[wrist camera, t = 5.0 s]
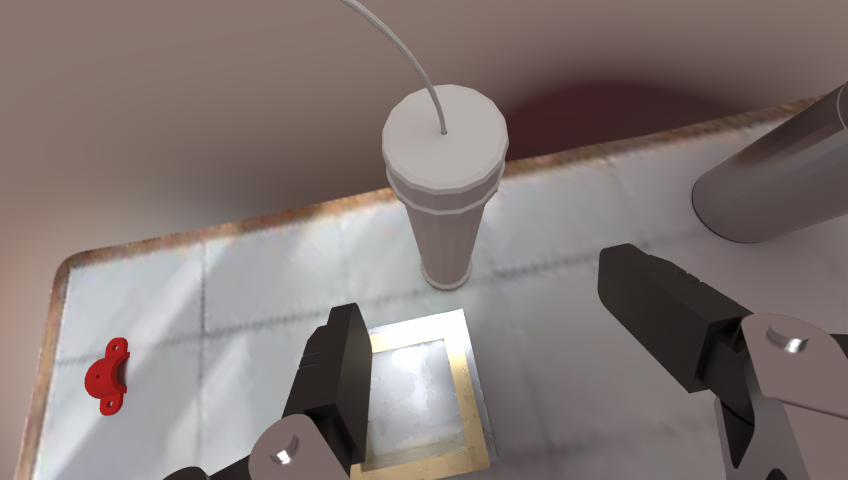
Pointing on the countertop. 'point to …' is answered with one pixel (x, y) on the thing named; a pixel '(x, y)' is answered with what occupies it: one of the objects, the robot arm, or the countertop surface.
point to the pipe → (442, 166)
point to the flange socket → (425, 403)
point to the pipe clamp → (108, 377)
